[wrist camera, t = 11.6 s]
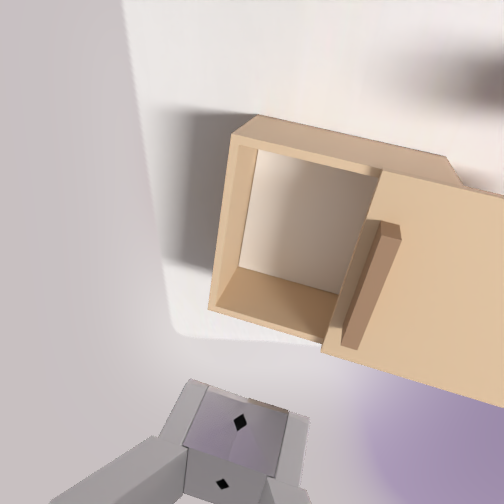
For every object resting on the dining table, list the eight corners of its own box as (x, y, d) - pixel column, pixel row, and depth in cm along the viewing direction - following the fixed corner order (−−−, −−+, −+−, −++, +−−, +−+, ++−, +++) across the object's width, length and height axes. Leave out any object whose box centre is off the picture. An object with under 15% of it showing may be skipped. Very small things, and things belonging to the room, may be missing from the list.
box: (258, 114, 44) (231, 133, 35) (445, 156, 41) (465, 188, 33) (233, 266, 54) (207, 309, 45) (382, 308, 51) (384, 362, 43)
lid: (382, 166, 33) (383, 182, 30) (645, 228, 30) (680, 253, 27) (321, 346, 44) (317, 372, 40) (513, 404, 41) (526, 437, 37)
